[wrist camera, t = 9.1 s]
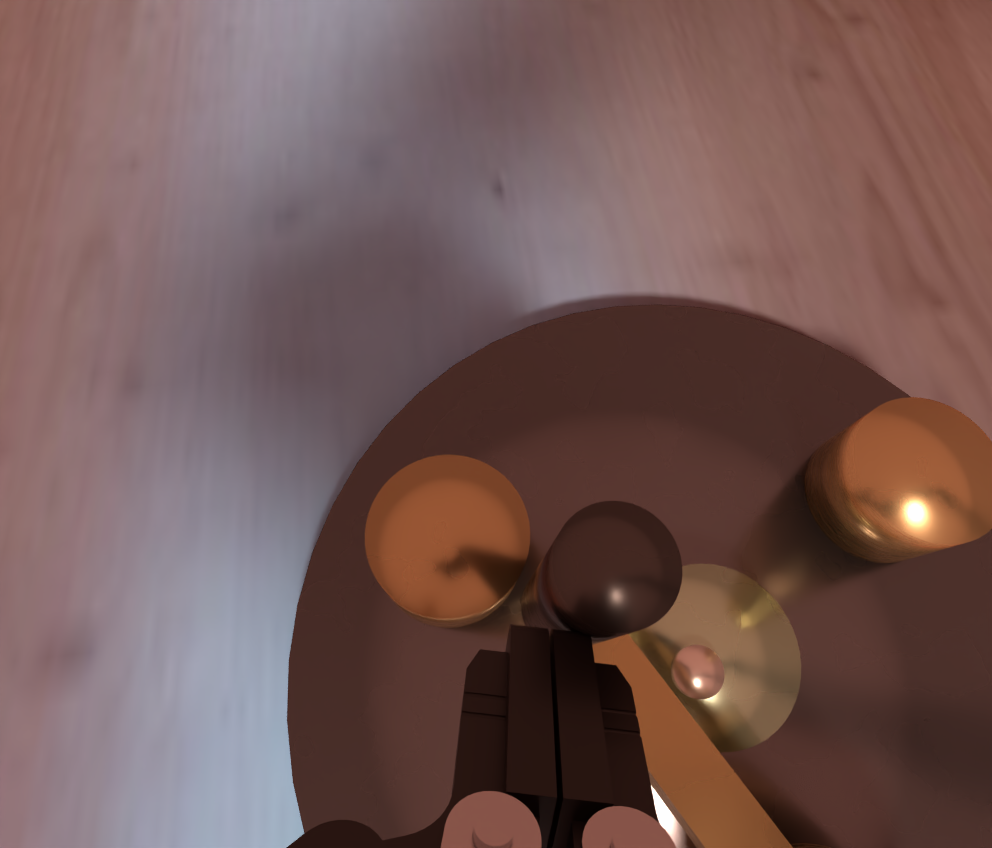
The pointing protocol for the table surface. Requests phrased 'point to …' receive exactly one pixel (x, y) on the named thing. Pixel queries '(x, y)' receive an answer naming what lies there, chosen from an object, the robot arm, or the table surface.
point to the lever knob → (645, 662)
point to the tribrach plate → (705, 572)
